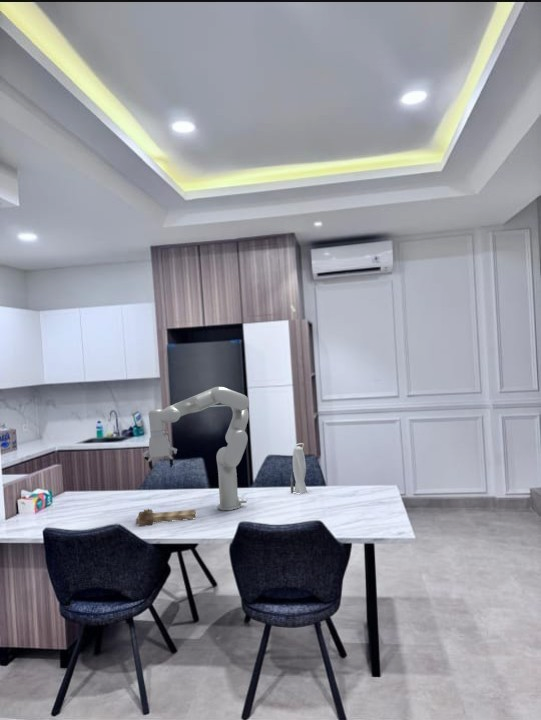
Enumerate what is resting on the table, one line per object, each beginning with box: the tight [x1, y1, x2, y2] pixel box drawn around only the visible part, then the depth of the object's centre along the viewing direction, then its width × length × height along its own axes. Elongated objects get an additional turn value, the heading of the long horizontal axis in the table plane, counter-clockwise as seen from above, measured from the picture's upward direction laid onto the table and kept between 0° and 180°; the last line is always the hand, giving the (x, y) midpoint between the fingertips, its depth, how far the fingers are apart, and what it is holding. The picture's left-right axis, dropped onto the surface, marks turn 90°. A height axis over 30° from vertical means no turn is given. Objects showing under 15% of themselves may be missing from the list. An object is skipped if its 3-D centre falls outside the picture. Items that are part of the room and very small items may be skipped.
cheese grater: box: [289, 442, 308, 495], centre depth 278 cm, size 8×8×28 cm
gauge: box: [138, 508, 154, 527], centre depth 236 cm, size 6×11×7 cm, turn 6°
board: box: [135, 509, 196, 525], centre depth 239 cm, size 28×8×2 cm, turn 96°
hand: (161, 467), depth 243 cm, fingers open, 9 cm apart
